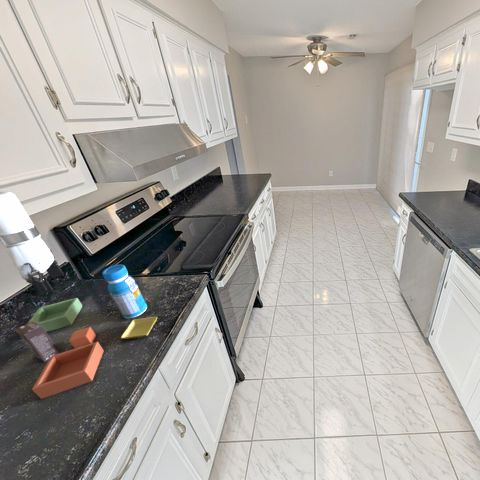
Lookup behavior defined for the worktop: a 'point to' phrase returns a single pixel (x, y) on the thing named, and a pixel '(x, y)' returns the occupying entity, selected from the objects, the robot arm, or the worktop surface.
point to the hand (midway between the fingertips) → (52, 284)
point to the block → (82, 337)
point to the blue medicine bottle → (124, 291)
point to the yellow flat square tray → (139, 328)
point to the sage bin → (57, 314)
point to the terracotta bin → (69, 370)
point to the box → (38, 341)
